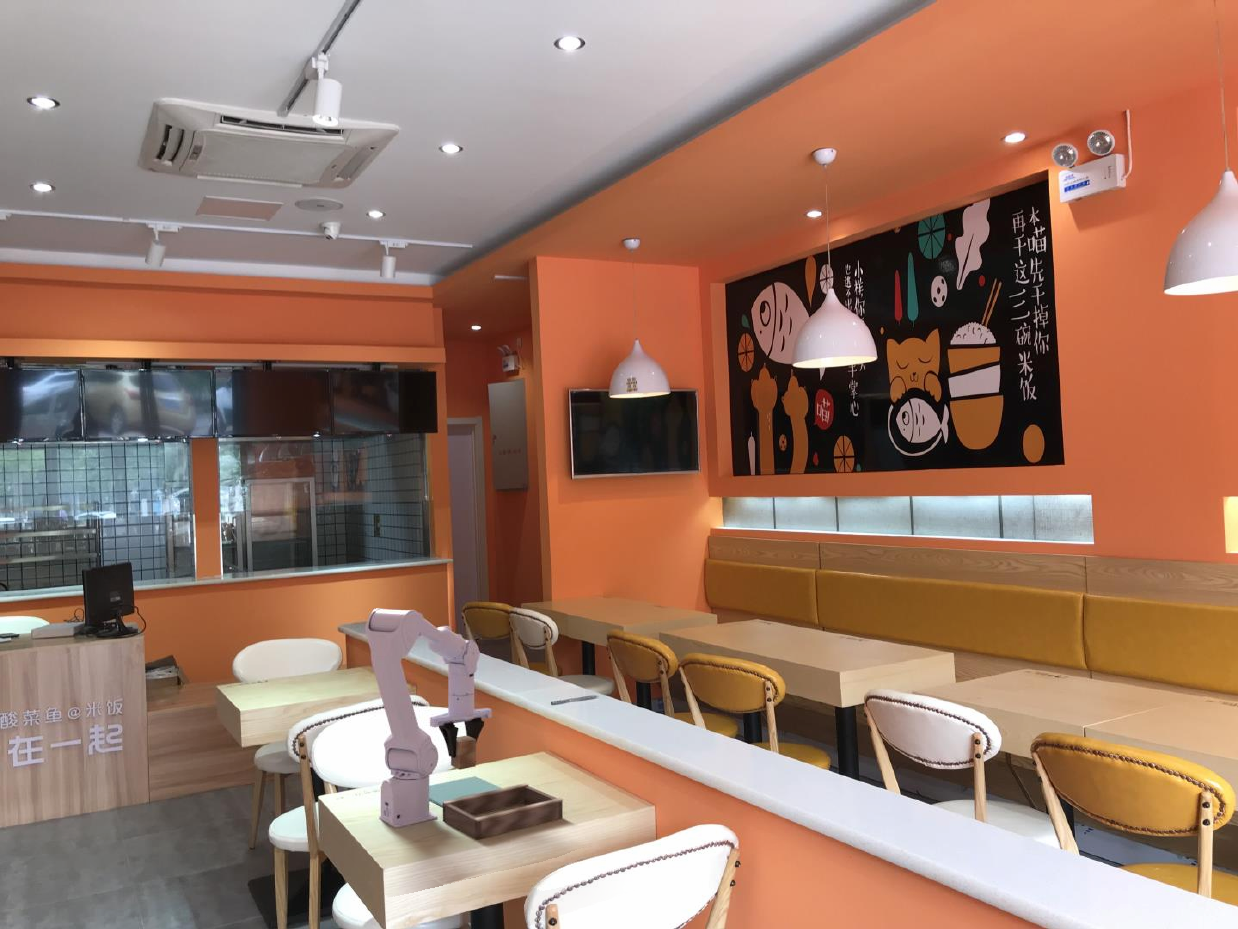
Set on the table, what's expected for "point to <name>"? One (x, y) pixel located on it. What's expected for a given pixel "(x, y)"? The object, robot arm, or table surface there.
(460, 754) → the walnut block
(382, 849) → the table surface
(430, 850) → the table surface
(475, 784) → the mat
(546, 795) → the frame
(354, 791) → the table surface
